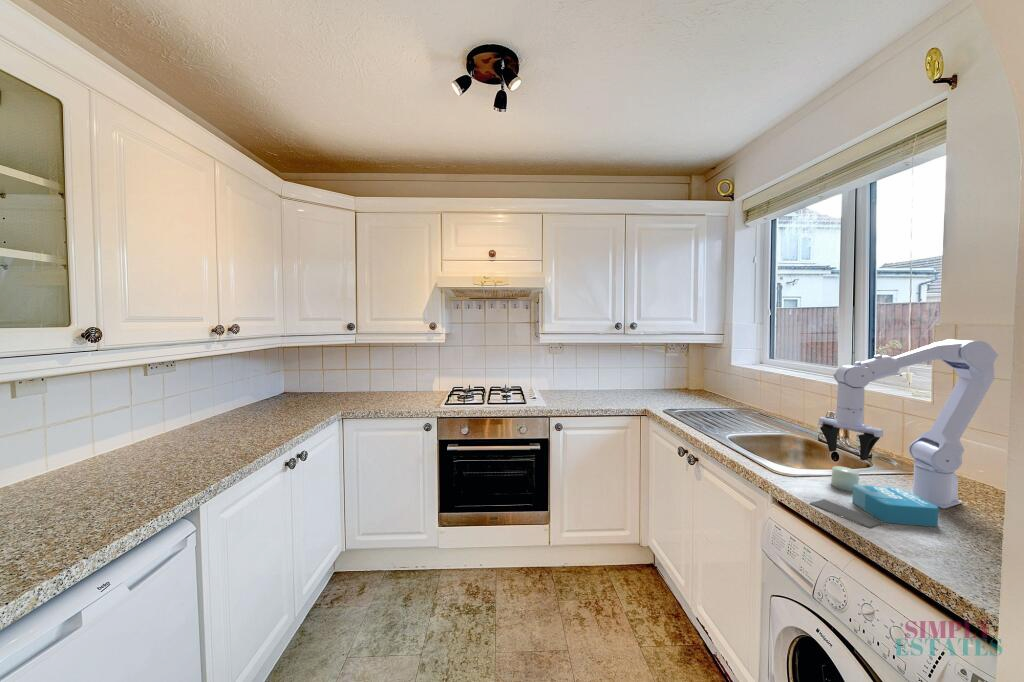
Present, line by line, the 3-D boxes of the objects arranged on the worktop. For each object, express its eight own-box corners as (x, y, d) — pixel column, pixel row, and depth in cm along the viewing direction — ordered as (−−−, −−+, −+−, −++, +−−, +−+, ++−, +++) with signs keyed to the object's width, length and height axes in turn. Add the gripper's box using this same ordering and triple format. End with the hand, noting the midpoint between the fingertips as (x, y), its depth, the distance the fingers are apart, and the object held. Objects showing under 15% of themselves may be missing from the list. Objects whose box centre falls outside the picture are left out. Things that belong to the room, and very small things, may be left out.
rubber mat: (824, 500, 105) (824, 499, 105) (884, 523, 93) (884, 522, 93) (809, 504, 103) (809, 502, 103) (869, 528, 91) (869, 526, 91)
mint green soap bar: (837, 481, 118) (838, 465, 118) (862, 489, 113) (863, 472, 113) (826, 484, 116) (828, 468, 115) (851, 492, 110) (853, 475, 110)
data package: (850, 484, 105) (901, 487, 103) (849, 500, 105) (900, 504, 103) (884, 504, 93) (942, 508, 91) (883, 522, 94) (941, 527, 92)
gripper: (813, 403, 115) (811, 449, 116) (873, 414, 102) (870, 465, 103) (828, 402, 118) (826, 446, 119) (888, 412, 105) (886, 462, 105)
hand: (847, 455), depth 111 cm, fingers open, 7 cm apart
